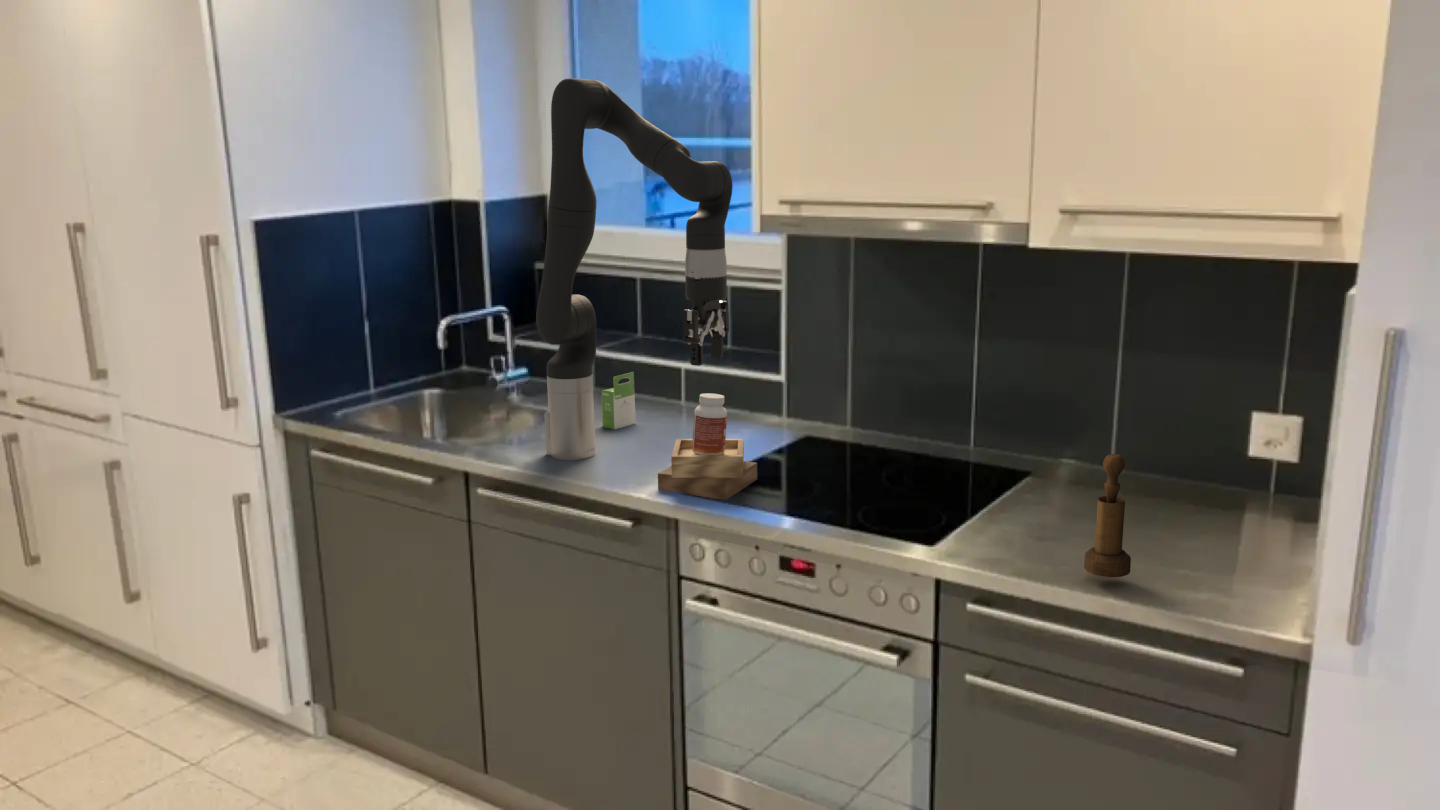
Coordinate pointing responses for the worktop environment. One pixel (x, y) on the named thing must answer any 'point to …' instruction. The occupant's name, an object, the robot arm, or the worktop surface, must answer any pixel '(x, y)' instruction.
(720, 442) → the pill bottle
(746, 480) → the tower base
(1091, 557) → the mortar and pestle
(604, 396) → the ink box
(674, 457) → the tower top
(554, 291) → the robot arm
